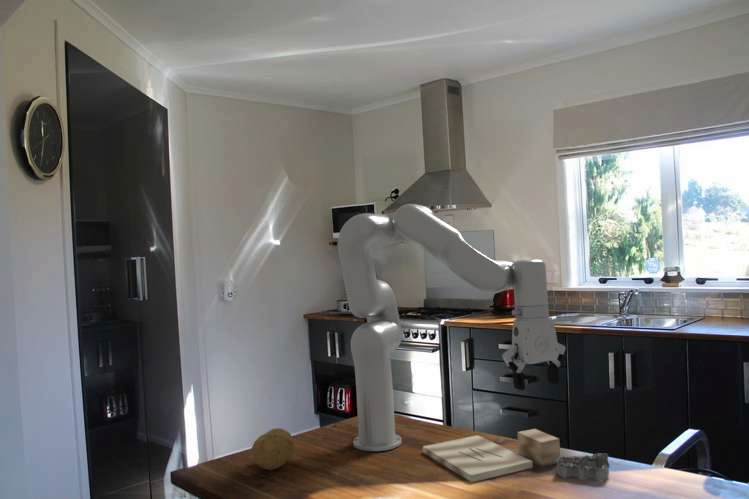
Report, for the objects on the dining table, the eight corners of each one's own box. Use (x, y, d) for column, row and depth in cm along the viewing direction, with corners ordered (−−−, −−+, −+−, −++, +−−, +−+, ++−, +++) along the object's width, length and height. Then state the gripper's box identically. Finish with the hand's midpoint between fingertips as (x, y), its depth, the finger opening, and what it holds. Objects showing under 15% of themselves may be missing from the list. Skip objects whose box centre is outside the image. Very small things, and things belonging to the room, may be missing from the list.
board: (422, 452, 145) (422, 446, 145) (477, 441, 152) (477, 435, 152) (471, 482, 125) (471, 475, 125) (532, 467, 131) (532, 460, 131)
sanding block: (518, 455, 140) (517, 432, 140) (535, 451, 142) (534, 428, 142) (542, 467, 132) (541, 442, 132) (560, 462, 134) (559, 438, 134)
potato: (242, 478, 135) (240, 443, 135) (264, 456, 148) (262, 425, 148) (283, 479, 133) (281, 443, 133) (301, 457, 147) (300, 425, 147)
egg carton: (611, 472, 128) (610, 453, 128) (607, 484, 121) (606, 464, 121) (560, 465, 133) (559, 447, 133) (553, 477, 126) (553, 458, 126)
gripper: (510, 317, 130) (515, 394, 130) (572, 310, 137) (577, 383, 137) (491, 315, 137) (496, 388, 137) (550, 308, 144) (555, 378, 144)
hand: (536, 386), depth 137 cm, fingers open, 9 cm apart
